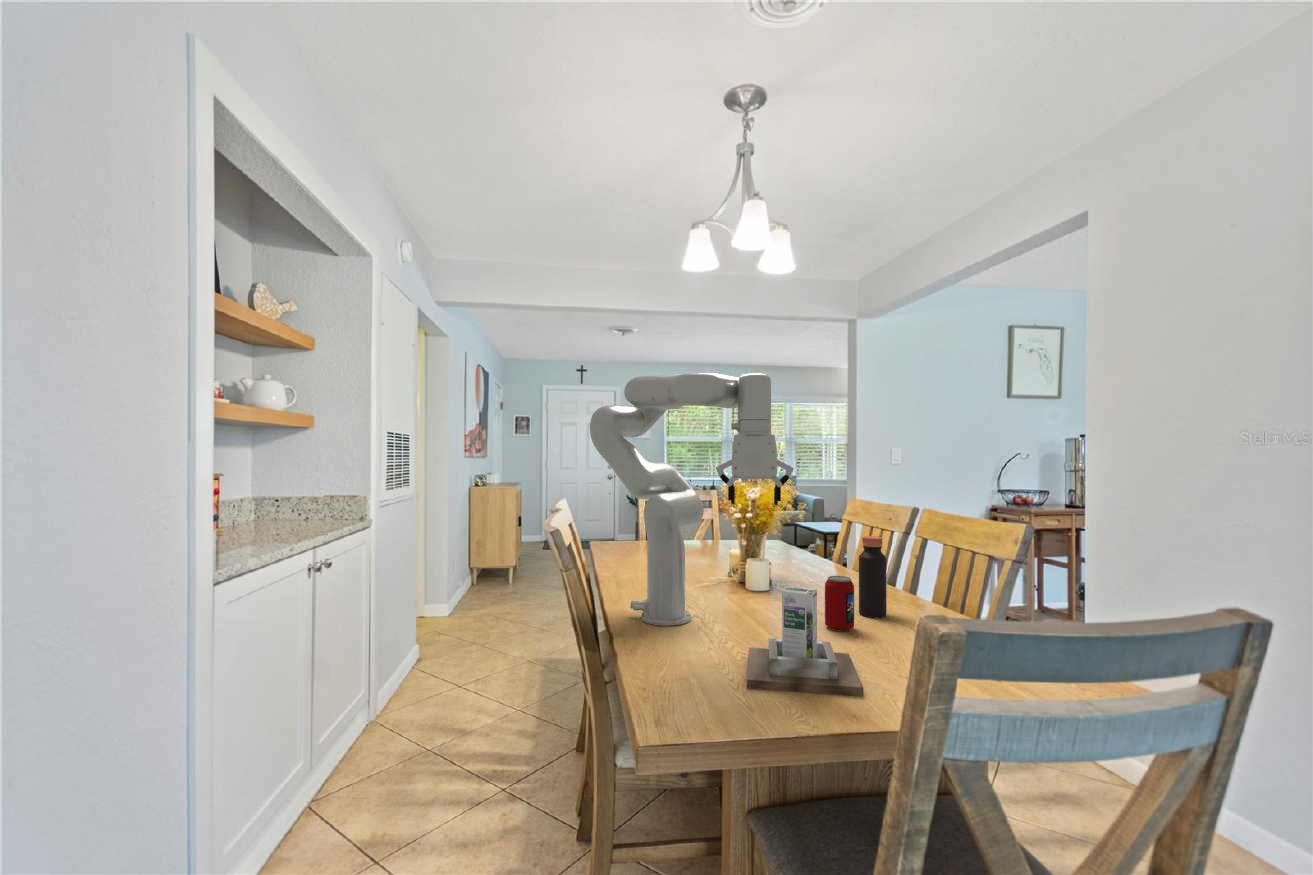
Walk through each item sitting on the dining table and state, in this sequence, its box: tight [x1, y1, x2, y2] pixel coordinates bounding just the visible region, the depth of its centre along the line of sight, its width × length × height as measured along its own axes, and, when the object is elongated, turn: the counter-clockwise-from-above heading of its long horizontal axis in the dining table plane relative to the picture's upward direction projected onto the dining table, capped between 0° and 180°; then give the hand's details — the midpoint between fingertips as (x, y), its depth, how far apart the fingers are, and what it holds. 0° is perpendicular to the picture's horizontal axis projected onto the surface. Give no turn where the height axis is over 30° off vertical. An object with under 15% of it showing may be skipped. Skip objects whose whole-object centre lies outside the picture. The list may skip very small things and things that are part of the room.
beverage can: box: [824, 575, 855, 632], centre depth 146 cm, size 7×7×12 cm
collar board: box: [746, 638, 864, 697], centre depth 116 cm, size 20×18×4 cm
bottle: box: [858, 535, 888, 619], centre depth 158 cm, size 7×7×20 cm
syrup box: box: [781, 585, 818, 659], centre depth 116 cm, size 6×6×14 cm
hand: (754, 504), depth 138 cm, fingers open, 9 cm apart
